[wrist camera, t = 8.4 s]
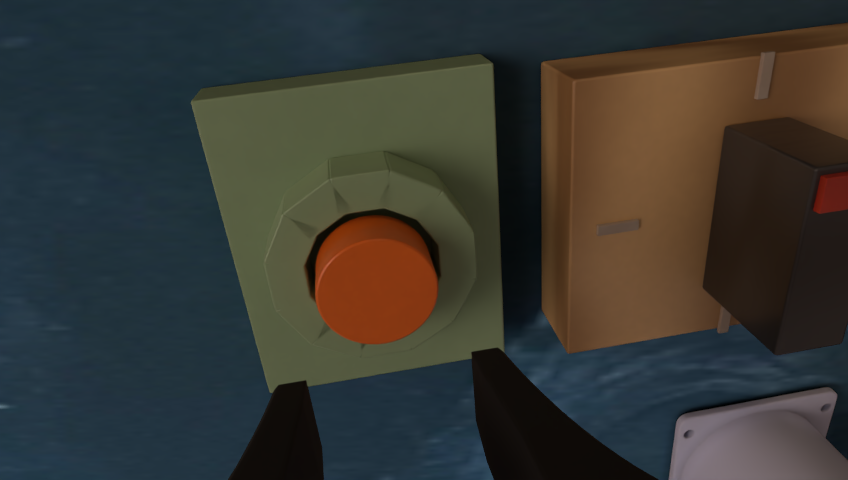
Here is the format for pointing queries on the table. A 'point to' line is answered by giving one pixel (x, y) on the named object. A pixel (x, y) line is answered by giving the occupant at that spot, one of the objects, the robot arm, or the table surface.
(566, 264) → the control panel
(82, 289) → the table surface
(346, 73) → the button box
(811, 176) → the red-striped dark box
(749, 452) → the robot arm
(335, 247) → the button
